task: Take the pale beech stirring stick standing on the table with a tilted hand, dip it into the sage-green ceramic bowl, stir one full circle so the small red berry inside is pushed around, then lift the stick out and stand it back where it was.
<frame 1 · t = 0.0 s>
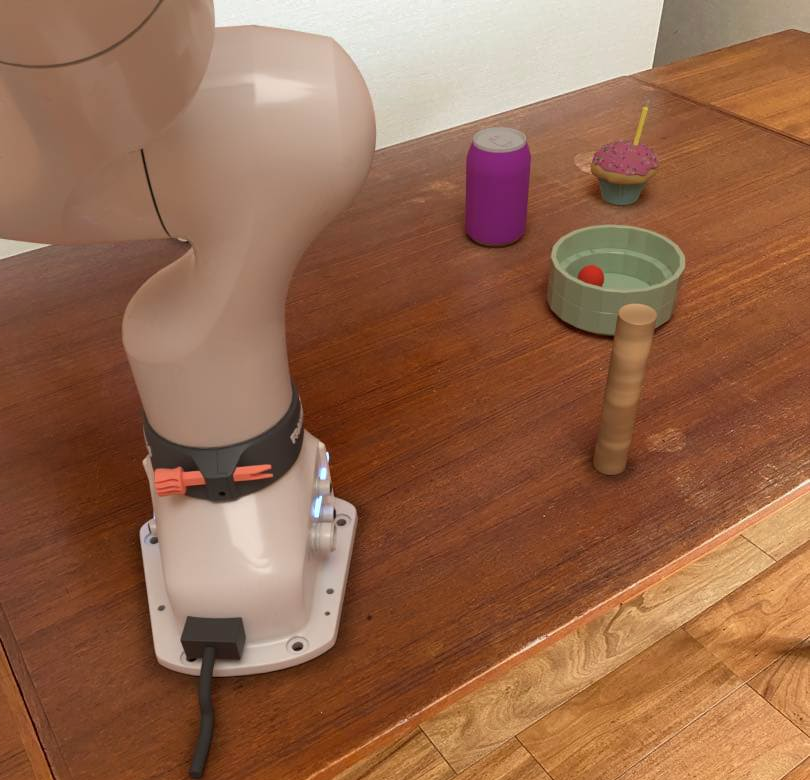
berry: (590, 279, 97), point 2 cm above the table, touching bowl
cupcake: (619, 199, 115), on the table
fork: (219, 250, 110), on the table
bowl: (609, 305, 98), on the table
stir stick: (609, 464, 80), on the table
beverage can: (495, 236, 110), on the table
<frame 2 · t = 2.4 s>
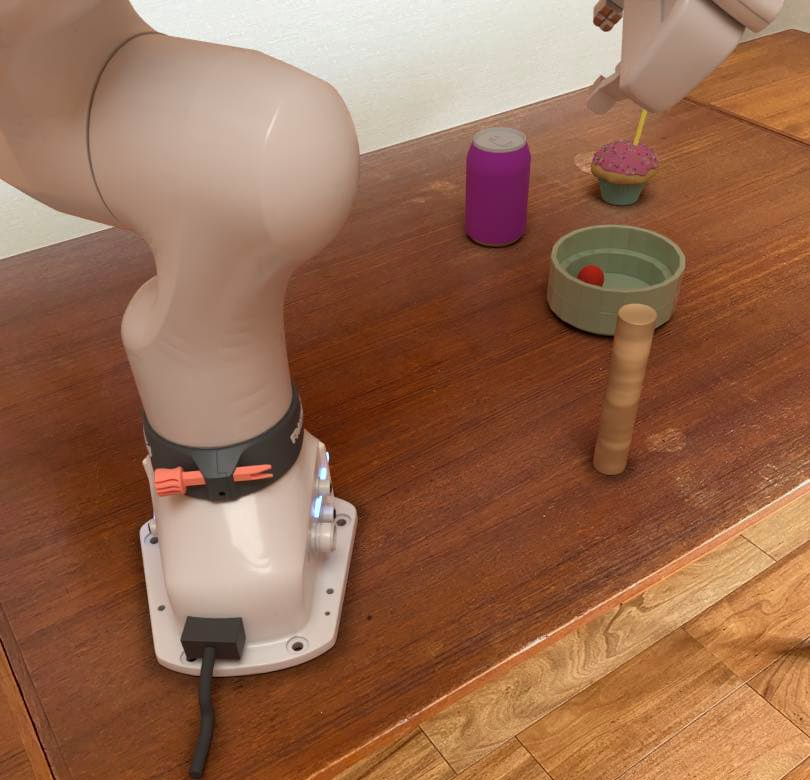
hand: (596, 62, 67), 30 cm above the table, tool tilted 40°, fingers open, 8 cm apart
nothing on the table moved.
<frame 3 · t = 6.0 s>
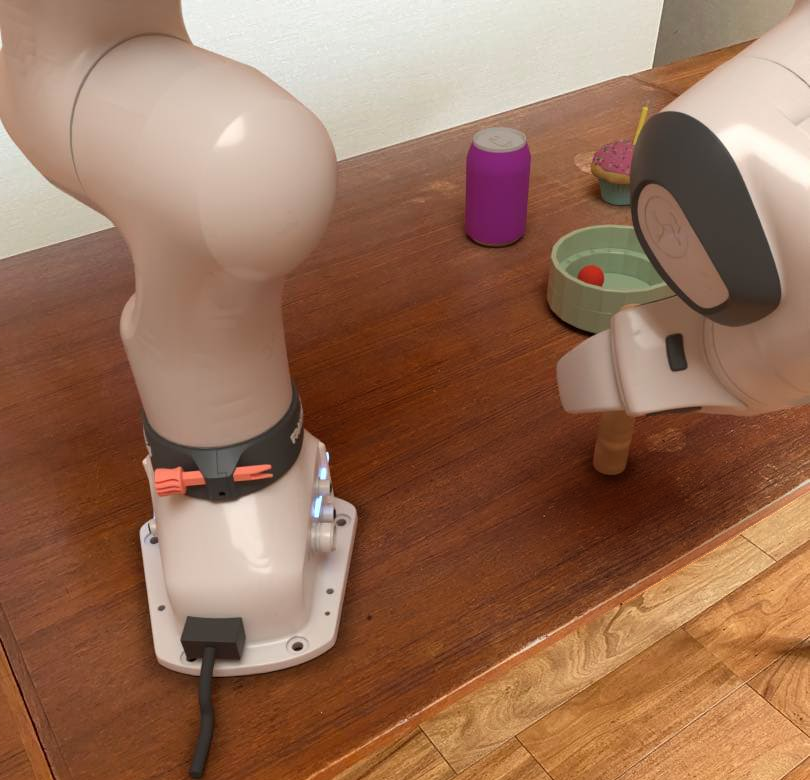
hand: (661, 377, 66), 14 cm above the table, tool tilted 45°, fingers open, 8 cm apart
nothing on the table moved.
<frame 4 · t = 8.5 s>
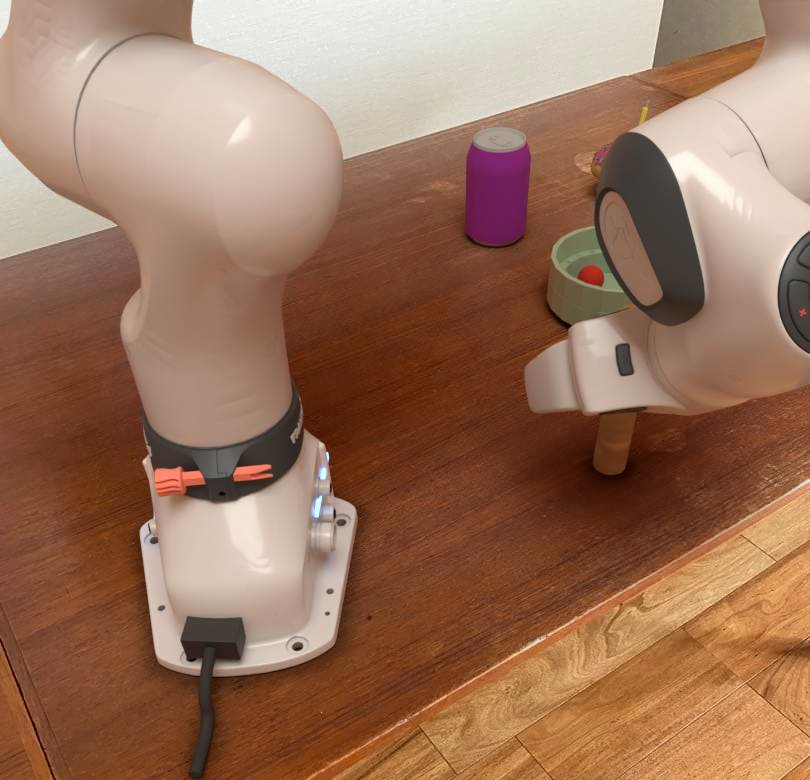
hand: (620, 381, 74), 9 cm above the table, tool tilted 45°, fingers closed on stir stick, 3 cm apart
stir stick: (609, 464, 80), on the table, touching gripper
everything else where it was.
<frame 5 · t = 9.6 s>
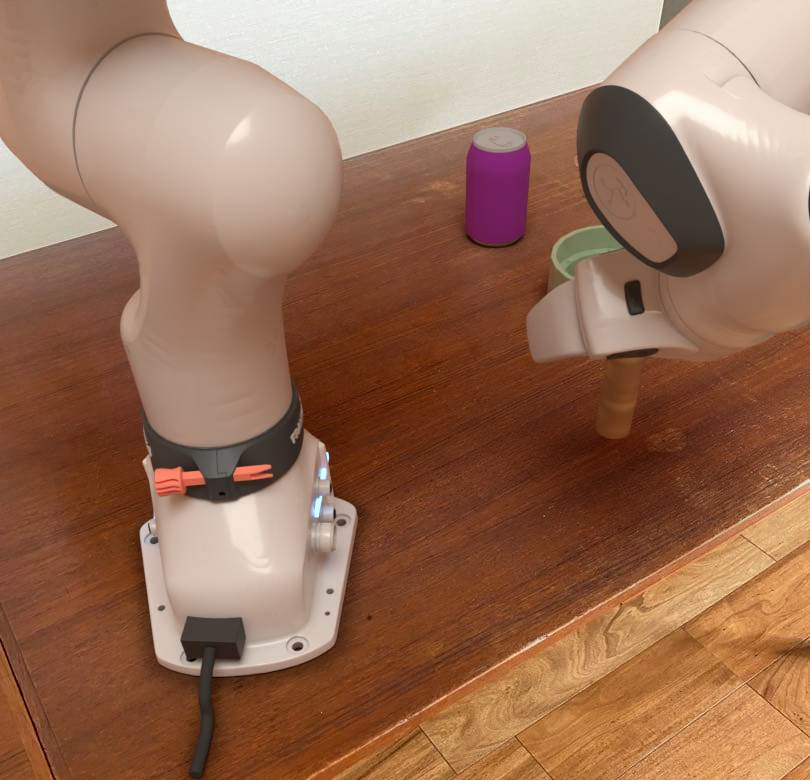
hand: (626, 337, 70), 13 cm above the table, tool tilted 45°, fingers closed on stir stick, 3 cm apart
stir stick: (612, 428, 76), point 4 cm above the table, touching gripper
everything else where it was.
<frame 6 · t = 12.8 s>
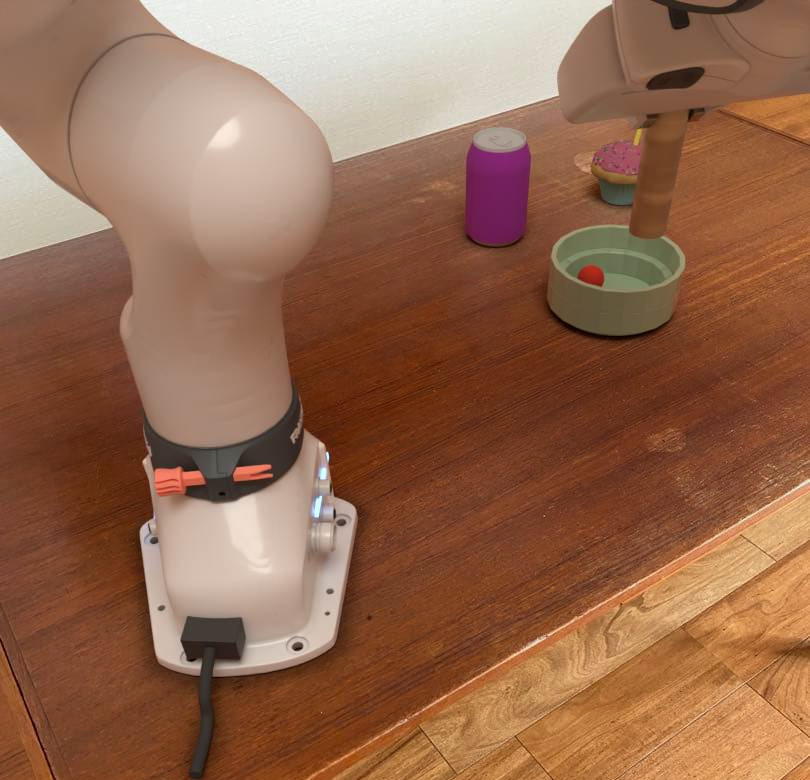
hand: (663, 115, 66), 28 cm above the table, tool tilted 45°, fingers closed on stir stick, 3 cm apart
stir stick: (647, 230, 72), point 19 cm above the table, touching gripper
everything else where it was.
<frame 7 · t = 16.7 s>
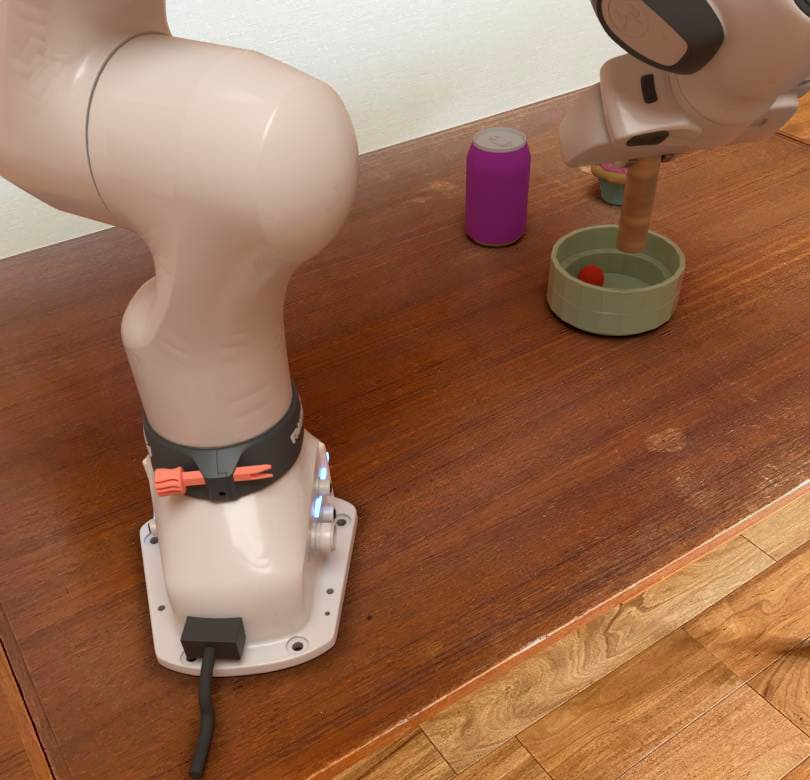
hand: (641, 157, 83), 18 cm above the table, tool tilted 45°, fingers closed on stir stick, 3 cm apart
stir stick: (630, 246, 90), point 9 cm above the table, touching gripper
everything else where it was.
when the fingers open (9 cm above the table, at t = 32.4 s): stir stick stays where it is, on the table.
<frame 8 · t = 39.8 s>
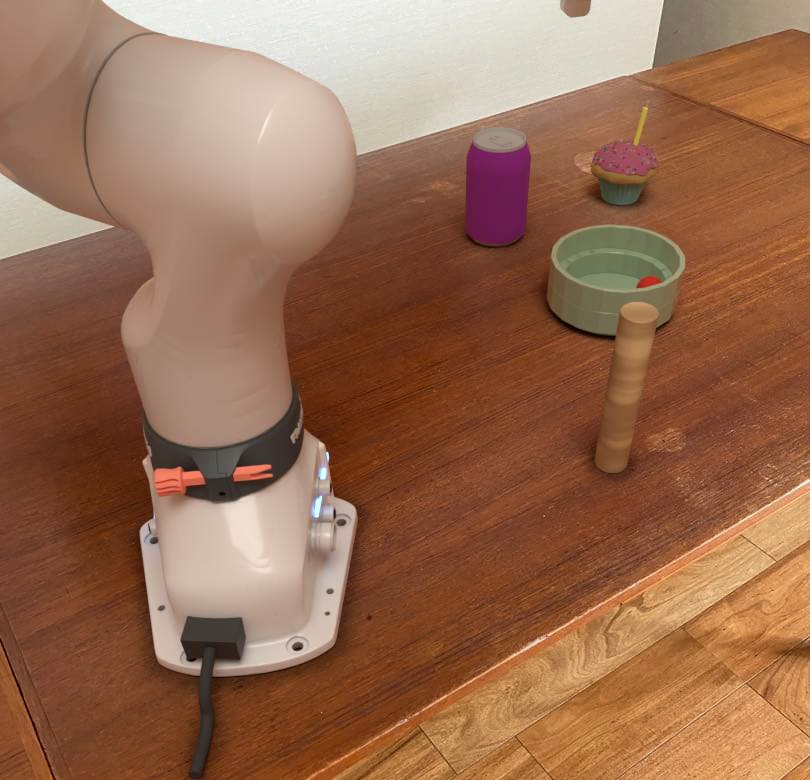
berry: (649, 290, 96), point 2 cm above the table, tilted 94°, touching bowl
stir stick: (610, 462, 80), on the table
everything else where it was.
at the end: berry moved 6.7 cm from its start; berry inside the target area in the bowl (4.0 cm from its centre), point 2.3 cm above the bowl's base; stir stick tilted 0° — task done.
